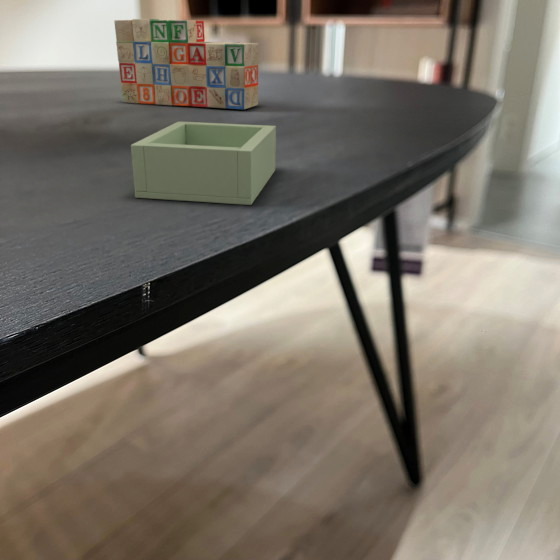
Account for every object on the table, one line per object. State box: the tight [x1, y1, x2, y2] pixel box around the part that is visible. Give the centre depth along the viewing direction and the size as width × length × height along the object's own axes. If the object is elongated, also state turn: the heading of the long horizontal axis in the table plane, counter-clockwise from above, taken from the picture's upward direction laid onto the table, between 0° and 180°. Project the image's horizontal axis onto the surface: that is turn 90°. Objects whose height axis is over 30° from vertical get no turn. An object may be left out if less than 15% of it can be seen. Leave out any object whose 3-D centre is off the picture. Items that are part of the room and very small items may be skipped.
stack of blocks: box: [113, 18, 259, 110], centre depth 89 cm, size 21×6×12 cm, turn 71°
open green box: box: [130, 121, 277, 206], centre depth 47 cm, size 9×11×4 cm
